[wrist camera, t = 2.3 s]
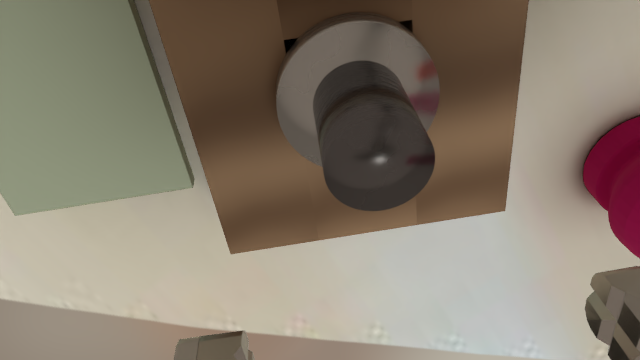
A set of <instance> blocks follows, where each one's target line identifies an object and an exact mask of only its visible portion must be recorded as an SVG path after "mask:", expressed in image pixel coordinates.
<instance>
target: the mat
mask: <svg viewBox="0 0 640 360" xmlns="http://www.w3.org/2000/svg"><path fill="white" fill-rule="evenodd" d="M193 185H194V176H193V173H192V170H191V167H190V165H189V162H188V159H187V156H186V153H185V150H184V147H183V144H182V141H181V138H180V135H179V132H178V129H177V126H176V123H175V120H174V118H173V115H172V112H171V109H170V106H169V103H168V100H167V97H166V94H165V91H164V88H163V85H162V82H161V79H160V76H159V73H158V71H157V68H156V65H155V62H154V59H153V56H152V53H151V50H150V47H149V44H148V41H147V38H146V35H145V32H144V29H143V26H142V24H141V21H140V18H139V15H138V12H137V9H136V6H135V3H134V0H0V193H1V194H2V196H3V198H4V199H5V201H6V202H7V204H8V206H9V207H10V209H11V210H12V212H13V213H14V215H15V216H17V215H23V214H30V213H36V212H42V211H49V210H55V209H61V208H68V207H74V206H80V205H87V204H93V203H99V202H105V201H112V200H118V199H124V198H131V197H137V196H143V195H150V194H156V193H162V192H169V191H175V190H181V189H188V188H193Z"/></svg>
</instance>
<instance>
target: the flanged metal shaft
mask: <svg viewBox="0 0 640 360" xmlns="http://www.w3.org/2000/svg"><path fill="white" fill-rule="evenodd" d="M439 96H440V85H439V78H438V73H437V70H436V68H435V65H434V62H433V61H432V59H431V57H430V55H429V54H428V52H427V51H426V49H425V48H424V47H423V45H422V44H421V42H420V41H419V40H418V39H417V37H416V36H415V35H414V34H413V33H412V32H411V31H410V30H409V29H408V28H406V27H405V26H404V25H402V24H401V23H399V22H397V21H395V20H393V19H391V18H389V17H386V16H383V15H380V14H374V13H366V12H354V13H345V14H341V15H337V16H334V17H331V18H328V19H325V20H323V21H321V22H319V23H318V24H316V25H314V26H313V27H311V28H310V29H308V30H307V31H306V32H304V33H303V34H302V35H301V36H300V37H299V38H298V39H297V40H296V41H295V42H294V44H293V45H292V46H291V47H290V49H289V50H288V52H287V53H286V55H285V57H284V59H283V61H282V63H281V66H280V69H279V72H278V76H277V82H276V107H277V115H278V120H279V123H280V127H281V129H282V131H283V133H284V135H285V137H286V139H287V140H288V142H289V143H290V144H291V145H292V147H293V148H294V149H295V150H296V151H297V152H298V153H299V154H300V155H302V156H303V157H304V158H306V159H307V160H309V161H311V162H312V163H314V164H316V165H319V166H321V167H323V173H324V178H325V182H326V185H327V187H328V189H329V190H330V192H331V193H332V194H333V196H334V197H335V198H336V199H338V200H339V201H340V202H342V203H343V204H345V205H347V206H349V207H351V208H354V209H358V210H363V211H382V210H387V209H391V208H394V207H397V206H399V205H402V204H404V203H406V202H407V201H409V200H411V199H412V198H413V197H415V196H416V195H417V194H418V193H419V192H420V191H421V190H422V189H423V188H424V187H425V185H426V184H427V183H428V181H429V179H430V177H431V175H432V173H433V170H434V166H435V151H434V147H433V144H432V142H431V140H430V138H429V136H428V134H427V131H428V129H429V128H430V126H431V124H432V122H433V120H434V117H435V115H436V112H437V108H438V104H439Z"/></svg>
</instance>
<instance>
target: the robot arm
mask: <svg viewBox="0 0 640 360" xmlns="http://www.w3.org/2000/svg"><path fill="white" fill-rule="evenodd" d="M590 285H591V287H592V288H593V289H594V292H593V293H592V294H591V295H590V296H589V297H588V298H587V300H586V306H585V311H586V317H587V321H588V323H589V326H590V328H591V330H592V331H593V333H594V335H595V336H596V338H597V339H599V340H601V341H602V342H604V343H606V344H608V345H609V349H608V356H609V357H610V359H611V360H640V266H639V267H638V266H634V267H629V268H623V269H617V270H611V271H606V272H600V273H596V274H595V275H594V276H593V277H592V280H591V284H590ZM174 360H255V359H254V356H253V353H252V352H251V351H250V350H248V338H247V335H246V332H245V331H237V332H229V333H222V334H214V335H207V336H200V337H194V338H187V339H180V340H179V342H178V344H177V346H176V350H175V355H174Z"/></svg>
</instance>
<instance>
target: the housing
mask: <svg viewBox="0 0 640 360" xmlns="http://www.w3.org/2000/svg"><path fill="white" fill-rule="evenodd" d="M149 2H150V5H151V9H152V12H153V15H154V18H155V21H156V24H157V27H158V30H159V33H160V36H161V40H162V43H163V46H164V49H165V52H166V55H167V58H168V61H169V64H170V67H171V70H172V74H173V77H174V80H175V83H176V86H177V89H178V92H179V95H180V98H181V101H182V105H183V108H184V111H185V114H186V117H187V120H188V123H189V126H190V129H191V132H192V136H193V139H194V142H195V145H196V148H197V151H198V154H199V157H200V160H201V163H202V166H203V170H204V173H205V176H206V179H207V182H208V185H209V188H210V191H211V194H212V197H213V201H214V204H215V207H216V210H217V213H218V216H219V219H220V222H221V225H222V228H223V232H224V235H225V238H226V241H227V244H228V247H229V250H230V253H231V254H235V253H241V252H248V251H254V250H260V249H267V248H273V247H279V246H286V245H292V244H298V243H305V242H311V241H317V240H324V239H330V238H336V237H343V236H349V235H355V234H362V233H368V232H374V231H381V230H387V229H393V228H400V227H406V226H412V225H419V224H425V223H431V222H438V221H444V220H450V219H457V218H463V217H469V216H476V215H482V214H488V213H495V212H501V211H505V207H506V198H507V189H508V180H509V171H510V162H511V153H512V144H513V135H514V126H515V117H516V109H517V100H518V91H519V82H520V73H521V64H522V55H523V46H524V37H525V28H526V19H527V11H528V2H529V0H149ZM354 12H366V13H374V14H380V15H383V16H386V17H389V18H391V19H393V20H395V21H397V22H399V23H401V24H402V25H404V26H405V27H406V28H408V29H409V30H410V31H411V32H412V33H413V34H414V35H415V36H416V37H417V39H418V40H419V41H420V42H421V44H422V45H423V47H424V48H425V49H426V51H427V52H428V54H429V55H430V57H431V59H432V61H433V62H434V65H435V68H436V70H437V73H438V78H439V85H440V96H439V104H438V108H437V112H436V115H435V117H434V120H433V122H432V124H431V126H430V128H429V129H428V131H427V134H428V136H429V138H430V140H431V142H432V144H433V147H434V151H435V166H434V170H433V173H432V175H431V177H430V179H429V181H428V183H427V184H426V185H425V187H424V188H423V189H422V190H421V191H420V192H419V193H418V194H417V195H416V196H415V197H413V198H412V199H411V200H409V201H407V202H406V203H404V204H402V205H399V206H397V207H394V208H391V209H387V210H382V211H363V210H358V209H354V208H351V207H349V206H347V205H345V204H343V203H342V202H340V201H339V200H338V199H336V198H335V197H334V196H333V194H332V193H331V192H330V190H329V189H328V187H327V185H326V182H325V178H324V173H323V167H321V166H319V165H316V164H314V163H312V162H311V161H309V160H307V159H306V158H304V157H303V156H302V155H300V154H299V153H298V152H297V151H296V150H295V149H294V148H293V147H292V145H291V144H290V143H289V142H288V140H287V139H286V137H285V135H284V133H283V131H282V129H281V127H280V123H279V120H278V115H277V107H276V82H277V76H278V72H279V69H280V66H281V63H282V61H283V59H284V57H285V55H286V53H287V52H288V45H287V39H293V38H299V37H300V36H301V35H302V34H303V33H304V32H306V31H307V30H308V29H310V28H311V27H313V26H314V25H316V24H318V23H319V22H321V21H323V20H325V19H328V18H331V17H334V16H337V15H341V14H345V13H354Z"/></svg>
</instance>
